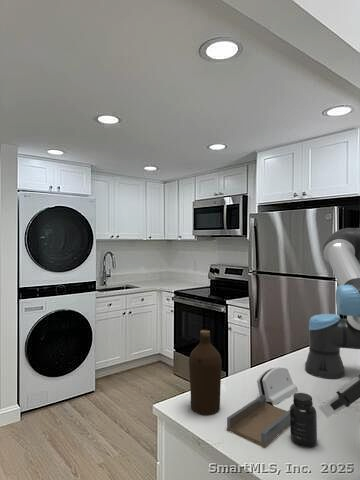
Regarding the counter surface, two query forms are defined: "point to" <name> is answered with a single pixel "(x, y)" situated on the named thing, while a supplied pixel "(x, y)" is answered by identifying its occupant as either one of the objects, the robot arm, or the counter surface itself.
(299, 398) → the supplement bottle
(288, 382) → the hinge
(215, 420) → the counter surface
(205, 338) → the olive oil
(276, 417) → the floor track
